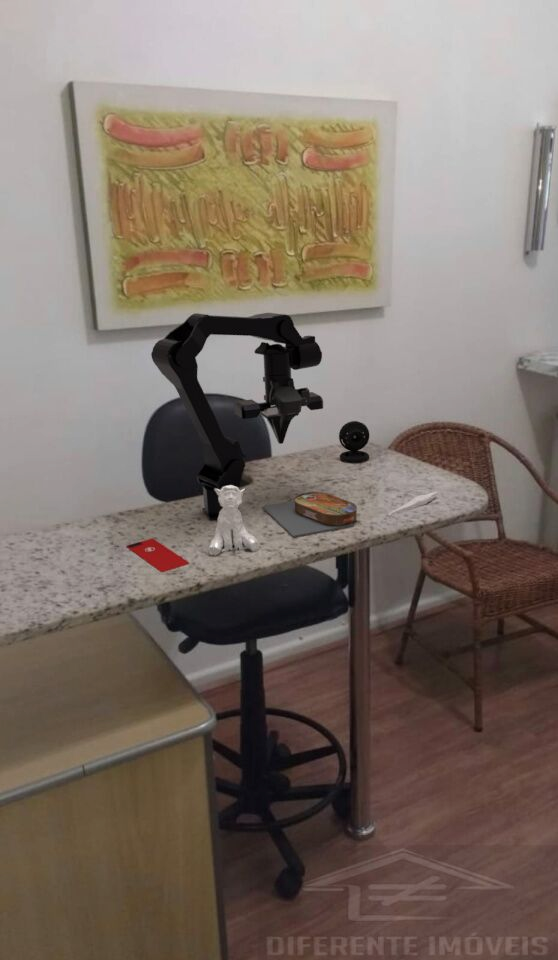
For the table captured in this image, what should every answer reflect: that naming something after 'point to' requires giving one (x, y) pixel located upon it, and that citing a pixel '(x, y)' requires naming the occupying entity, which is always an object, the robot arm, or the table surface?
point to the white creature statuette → (231, 524)
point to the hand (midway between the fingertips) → (280, 443)
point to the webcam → (354, 442)
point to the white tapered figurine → (416, 502)
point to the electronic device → (157, 555)
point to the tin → (325, 508)
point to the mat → (297, 520)
